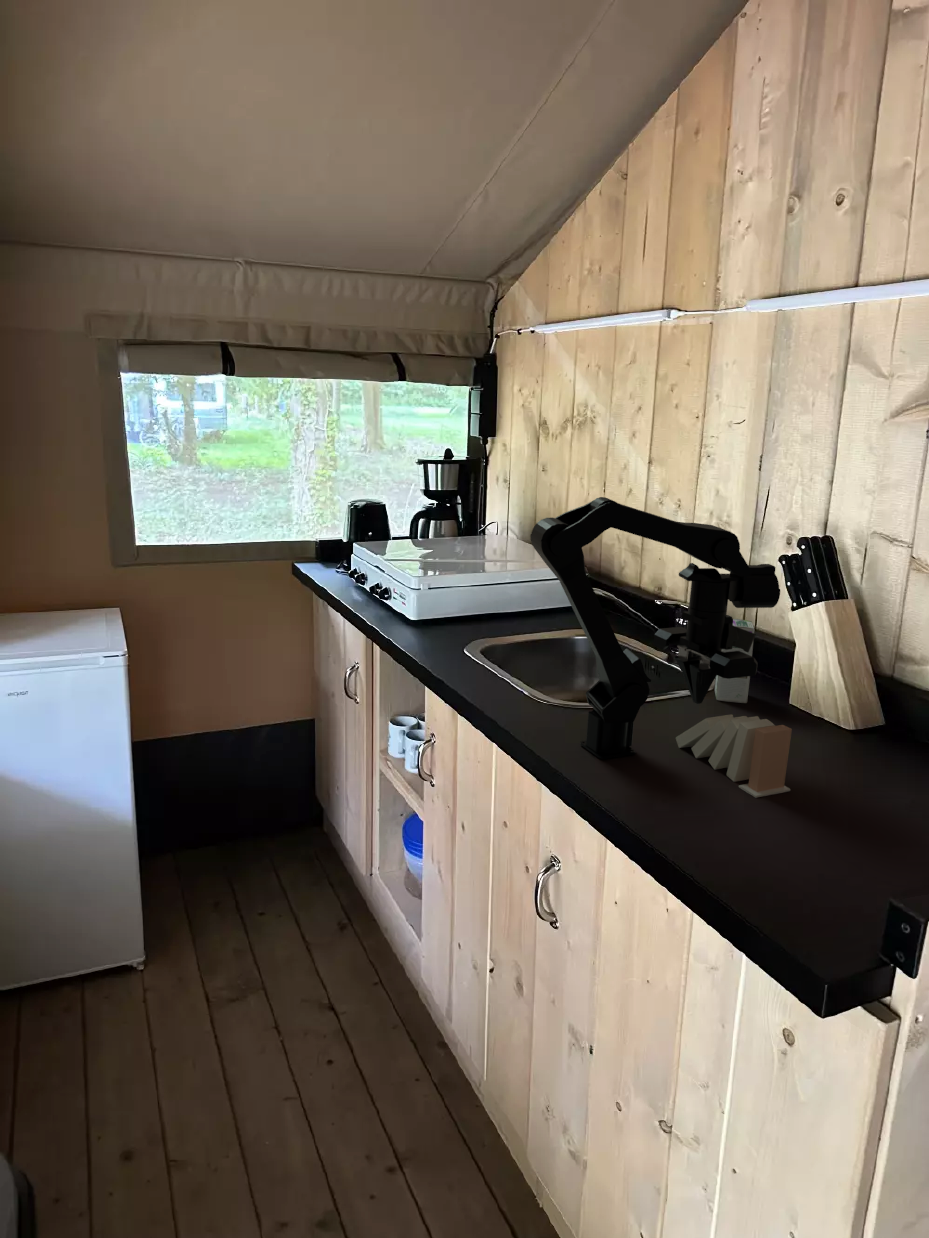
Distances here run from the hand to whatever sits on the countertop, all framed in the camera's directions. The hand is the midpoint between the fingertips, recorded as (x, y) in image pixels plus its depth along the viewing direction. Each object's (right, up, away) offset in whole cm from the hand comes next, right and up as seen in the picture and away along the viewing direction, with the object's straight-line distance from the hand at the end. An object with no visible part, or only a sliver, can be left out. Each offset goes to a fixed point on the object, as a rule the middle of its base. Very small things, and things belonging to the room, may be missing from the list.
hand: (697, 702), depth 144 cm
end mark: (+6, -11, -13) cm, 18 cm away
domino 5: (+7, -11, -13) cm, 18 cm away
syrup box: (+13, -2, +26) cm, 29 cm away
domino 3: (+3, -9, -5) cm, 10 cm away
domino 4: (+5, -10, -9) cm, 14 cm away
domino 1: (-1, -6, +3) cm, 7 cm away
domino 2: (+1, -8, -1) cm, 8 cm away
